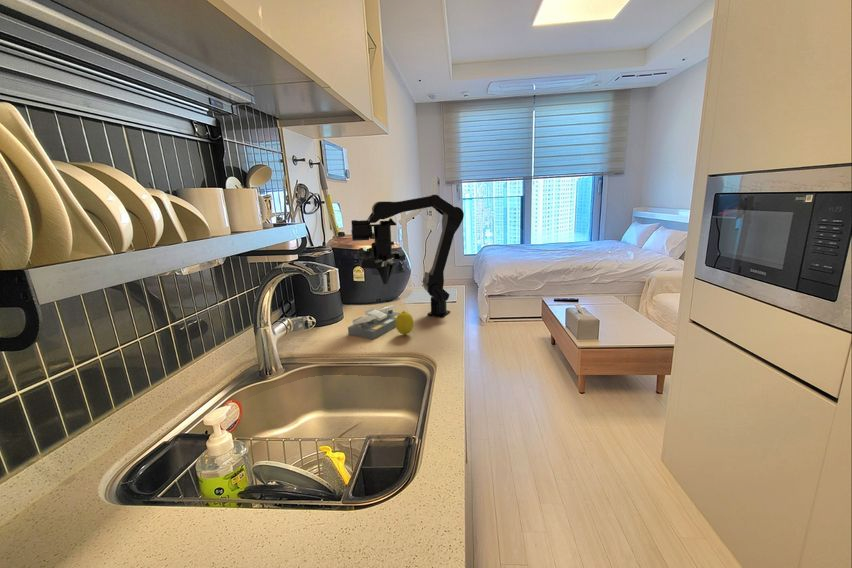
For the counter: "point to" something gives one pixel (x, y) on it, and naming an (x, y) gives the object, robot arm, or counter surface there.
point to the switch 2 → (387, 308)
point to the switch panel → (374, 326)
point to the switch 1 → (363, 319)
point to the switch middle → (376, 314)
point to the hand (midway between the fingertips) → (385, 284)
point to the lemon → (404, 323)
